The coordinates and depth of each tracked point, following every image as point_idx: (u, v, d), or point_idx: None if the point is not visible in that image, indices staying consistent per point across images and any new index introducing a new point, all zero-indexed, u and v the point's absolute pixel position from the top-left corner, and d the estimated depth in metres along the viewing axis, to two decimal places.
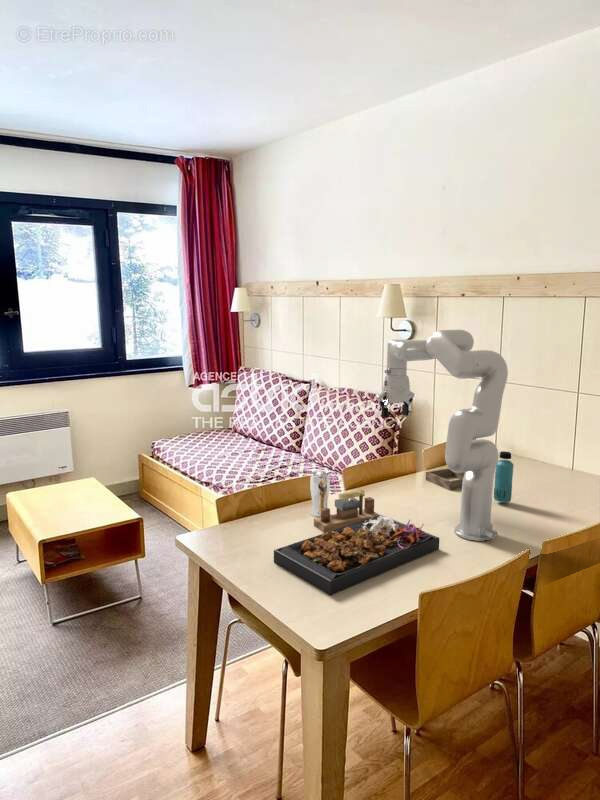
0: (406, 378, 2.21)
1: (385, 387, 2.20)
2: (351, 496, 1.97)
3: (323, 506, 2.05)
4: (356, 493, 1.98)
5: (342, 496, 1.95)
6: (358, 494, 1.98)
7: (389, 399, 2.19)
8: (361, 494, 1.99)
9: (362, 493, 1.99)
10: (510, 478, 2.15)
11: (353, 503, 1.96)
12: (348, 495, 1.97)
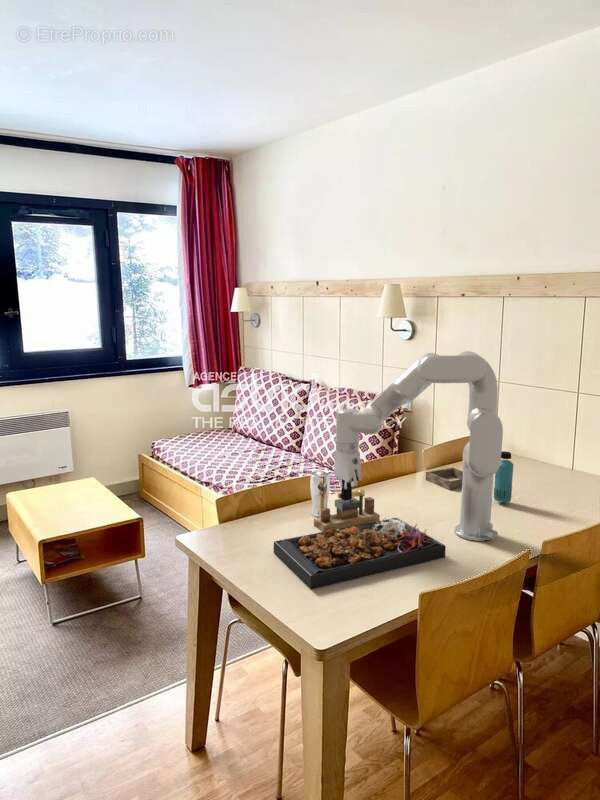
0: None
1: (355, 466, 1.89)
2: None
3: (323, 506, 2.05)
4: (355, 493, 1.98)
5: (340, 495, 1.96)
6: (357, 494, 1.99)
7: (360, 477, 1.91)
8: (361, 494, 1.99)
9: (362, 493, 1.99)
10: (510, 478, 2.15)
11: (353, 503, 1.96)
12: None
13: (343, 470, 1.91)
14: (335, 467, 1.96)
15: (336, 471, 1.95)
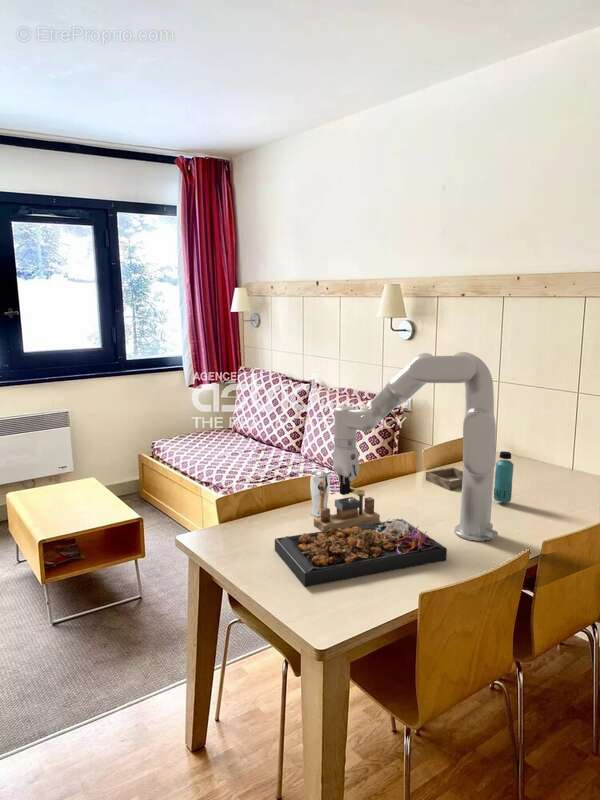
0: None
1: (353, 461, 1.96)
2: (350, 491, 2.02)
3: (323, 506, 2.05)
4: (354, 490, 2.01)
5: None
6: (356, 492, 2.00)
7: (358, 472, 1.98)
8: (358, 493, 1.99)
9: (358, 493, 1.99)
10: (510, 478, 2.15)
11: (353, 503, 1.96)
12: None
13: (341, 465, 1.98)
14: (334, 463, 2.03)
15: (335, 466, 2.02)
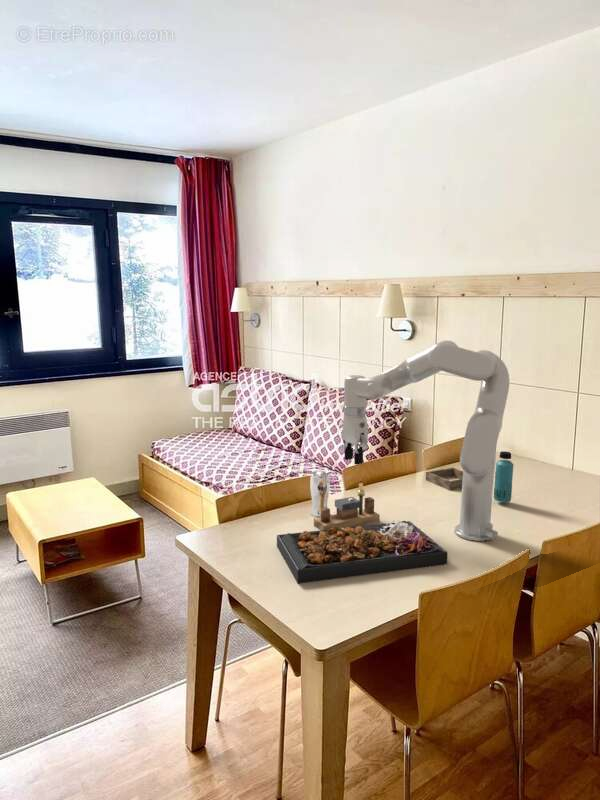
0: None
1: (362, 430, 1.98)
2: None
3: (323, 506, 2.05)
4: (359, 489, 2.02)
5: None
6: None
7: (367, 440, 2.00)
8: None
9: None
10: (510, 478, 2.15)
11: (353, 503, 1.96)
12: None
13: (350, 433, 2.00)
14: (343, 431, 2.05)
15: (344, 435, 2.05)
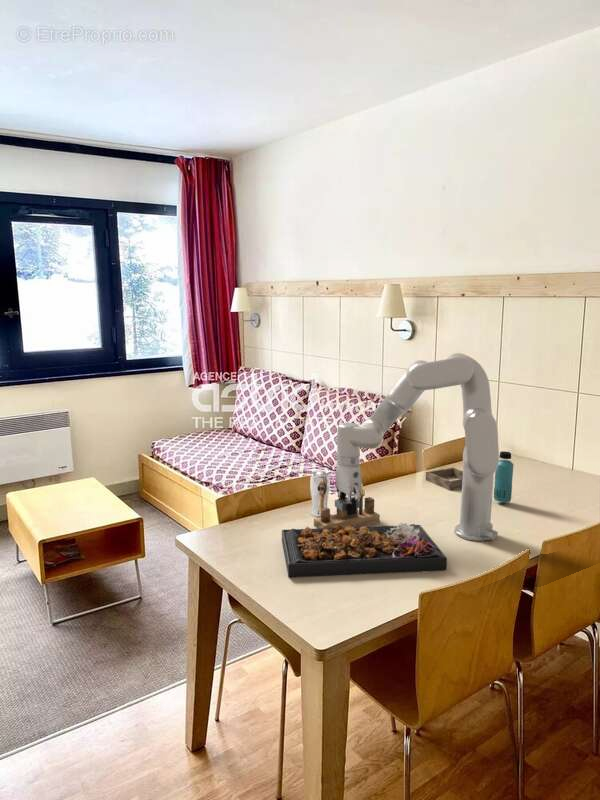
0: None
1: (355, 480, 1.92)
2: None
3: (323, 506, 2.05)
4: None
5: None
6: None
7: (361, 490, 1.94)
8: None
9: None
10: (510, 478, 2.15)
11: None
12: None
13: (344, 483, 1.94)
14: (336, 480, 1.99)
15: (337, 484, 1.98)
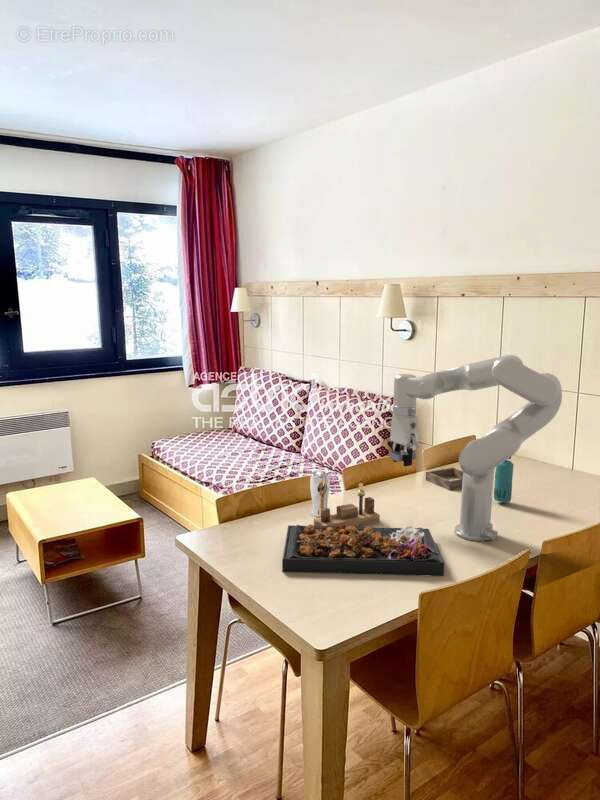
0: None
1: (413, 430, 1.92)
2: None
3: (323, 506, 2.05)
4: (359, 489, 2.02)
5: None
6: None
7: (417, 441, 1.94)
8: None
9: None
10: (510, 478, 2.15)
11: None
12: None
13: (400, 434, 1.94)
14: (391, 432, 1.99)
15: (392, 436, 1.98)
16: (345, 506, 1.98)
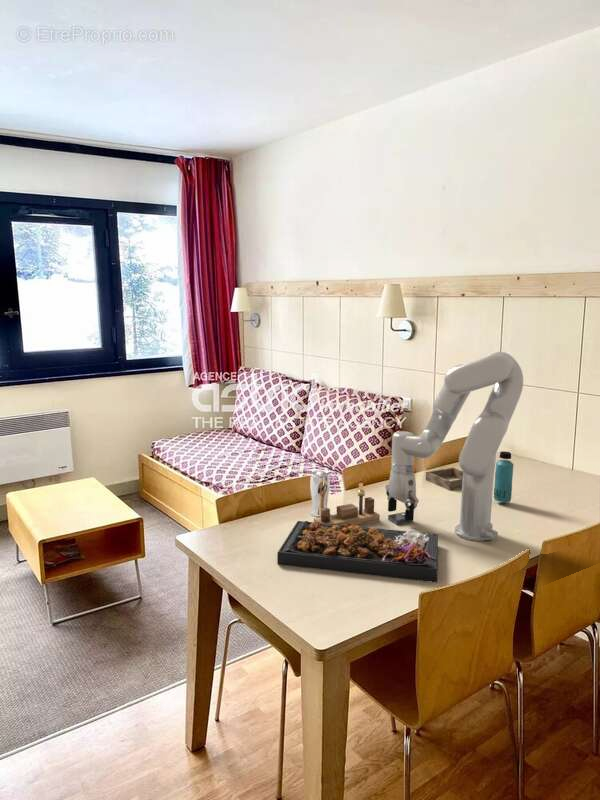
0: None
1: (410, 487, 1.95)
2: None
3: (323, 506, 2.05)
4: (359, 489, 2.02)
5: None
6: None
7: None
8: None
9: None
10: (510, 478, 2.15)
11: None
12: None
13: (398, 491, 1.97)
14: (389, 487, 2.02)
15: (390, 491, 2.02)
16: (345, 506, 1.98)
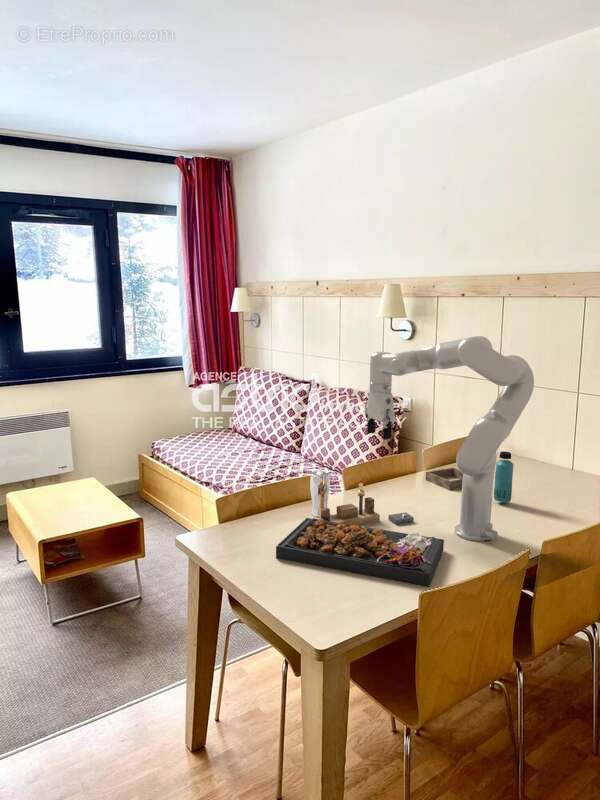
0: None
1: (388, 406, 1.98)
2: None
3: (323, 506, 2.05)
4: (359, 489, 2.02)
5: None
6: None
7: None
8: None
9: None
10: (510, 478, 2.15)
11: (407, 519, 1.99)
12: None
13: (376, 410, 2.00)
14: (368, 409, 2.05)
15: (369, 412, 2.05)
16: (345, 506, 1.98)
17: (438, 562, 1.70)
